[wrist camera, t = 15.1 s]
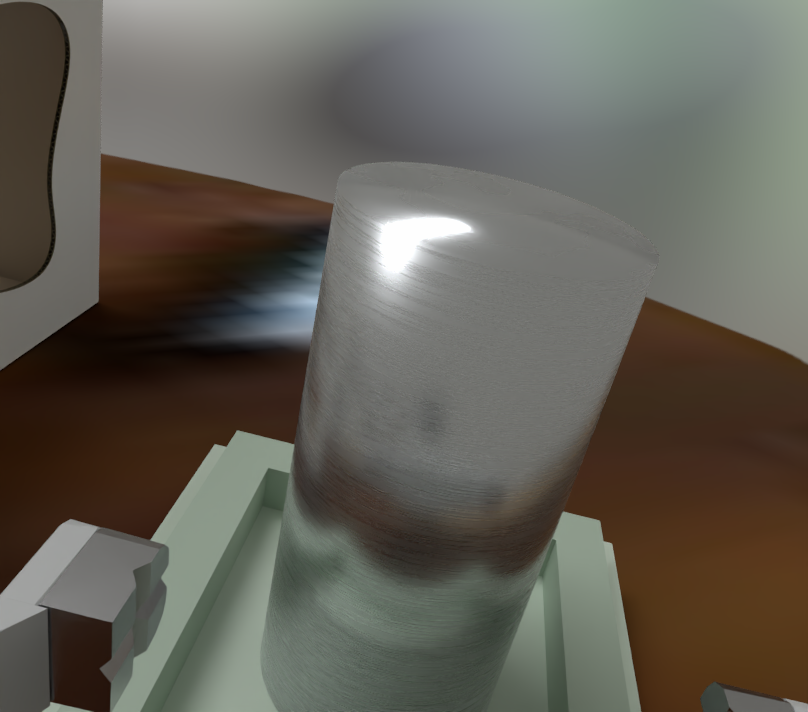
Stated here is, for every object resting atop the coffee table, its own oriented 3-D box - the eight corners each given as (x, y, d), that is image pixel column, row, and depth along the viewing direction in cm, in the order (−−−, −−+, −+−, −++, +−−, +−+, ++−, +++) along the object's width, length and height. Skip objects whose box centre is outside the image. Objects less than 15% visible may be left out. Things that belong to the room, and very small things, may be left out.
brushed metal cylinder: (225, 729, 17) (299, 215, 11) (296, 550, 22) (370, 145, 17) (486, 799, 16) (690, 311, 11) (494, 601, 22) (634, 208, 16)
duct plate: (-60, 926, 14) (-78, 817, 13) (210, 489, 27) (218, 407, 25) (663, 1125, 14) (739, 1038, 12) (593, 586, 26) (626, 509, 25)
